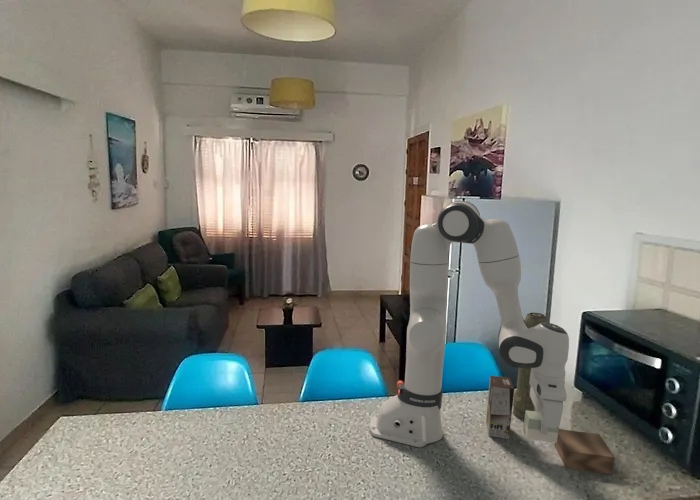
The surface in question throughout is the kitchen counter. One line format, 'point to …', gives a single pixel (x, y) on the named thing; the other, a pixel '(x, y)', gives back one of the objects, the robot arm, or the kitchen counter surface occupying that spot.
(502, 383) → the coffee box
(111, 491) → the kitchen counter surface
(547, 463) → the kitchen counter surface
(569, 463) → the walnut stand
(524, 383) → the thermos
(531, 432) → the block
